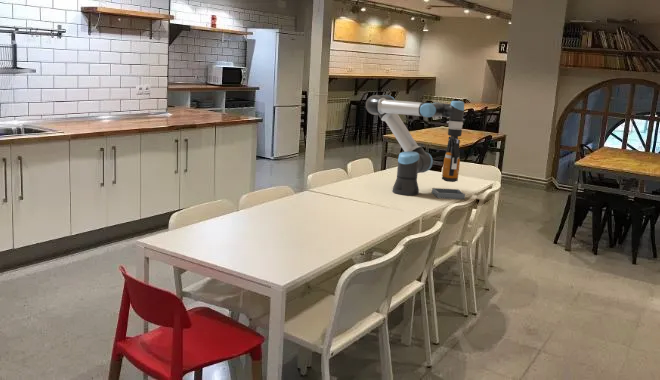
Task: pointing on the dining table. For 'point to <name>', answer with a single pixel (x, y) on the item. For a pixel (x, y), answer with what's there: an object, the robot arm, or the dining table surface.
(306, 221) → the dining table surface
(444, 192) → the bin
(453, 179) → the canister
